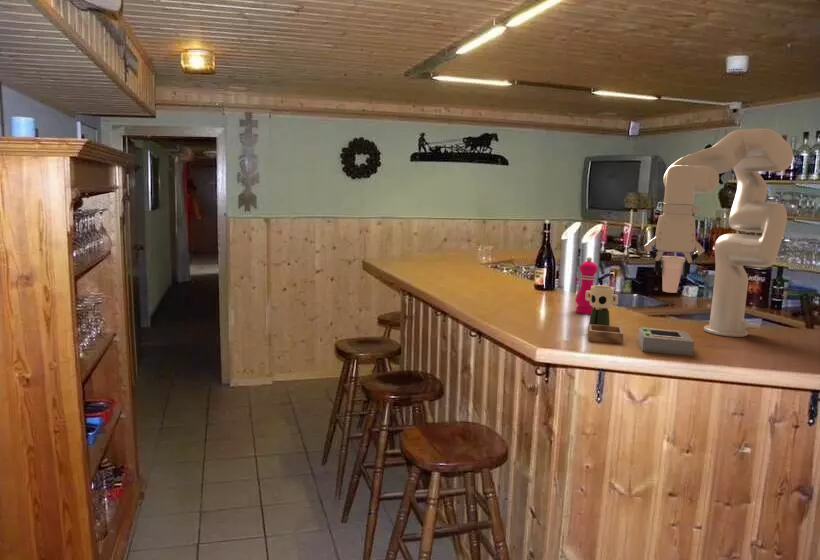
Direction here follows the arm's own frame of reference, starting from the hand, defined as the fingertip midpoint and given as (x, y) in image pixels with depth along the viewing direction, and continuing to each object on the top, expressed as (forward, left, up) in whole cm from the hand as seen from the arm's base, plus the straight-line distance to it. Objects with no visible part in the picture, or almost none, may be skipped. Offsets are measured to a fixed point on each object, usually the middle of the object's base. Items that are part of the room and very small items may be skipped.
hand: (671, 275), depth 176 cm
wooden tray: (+16, -5, -21) cm, 27 cm away
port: (0, 0, -21) cm, 21 cm away
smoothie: (0, 0, -5) cm, 5 cm away
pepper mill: (+21, -44, -21) cm, 53 cm away
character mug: (+17, -21, -21) cm, 34 cm away
